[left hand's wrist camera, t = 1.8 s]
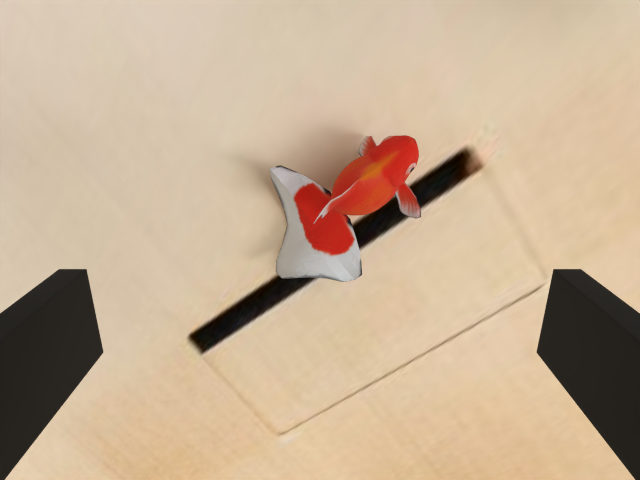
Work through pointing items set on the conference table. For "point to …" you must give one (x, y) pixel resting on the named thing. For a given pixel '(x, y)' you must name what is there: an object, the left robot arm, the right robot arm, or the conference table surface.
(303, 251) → the fish
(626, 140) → the conference table surface
